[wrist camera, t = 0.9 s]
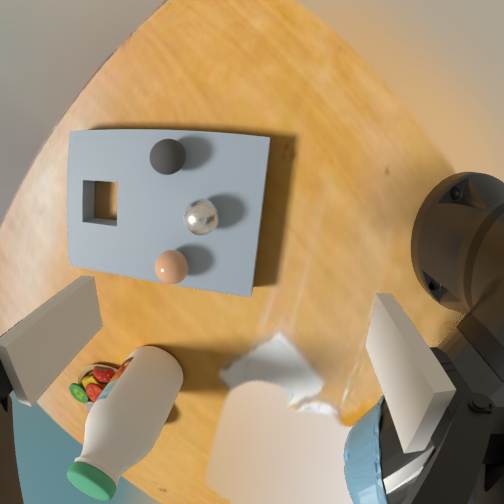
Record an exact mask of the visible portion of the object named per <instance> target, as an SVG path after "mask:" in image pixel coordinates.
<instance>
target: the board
mask: <svg viewBox="0 0 504 504" xmlns="http://www.w3.org/2000/svg"><path fill="white" fill-rule="evenodd" d="M163 139H174V140H176V141H178V142H179V143H181V145H182V146H183V147H184V149H185V152H186V160H185V163H184V165H183V167H182V168H181V169H180V170H179V171H178V172H176V173H174V174H171V175H163V174H160V173H158V172H157V171H155V170H154V169H153V167H152V166H151V163H150V152H151V149H152V147H153V146H154V145H155V144H156V143H157V142H159V141H161V140H163ZM270 146H271V138H270V137H263V136H254V135H243V134H232V133H220V132H205V131H187V130H158V129H109V130H81V131H70V138H69V152H68V171H67V233H68V253H69V265H72V266H76V267H81V268H86V269H91V270H96V271H101V272H106V273H111V274H116V275H122V276H127V277H132V278H137V279H143V280H148V281H154V282H160V283H164V282H162V281H161V280H160V279H159V278H158V277H157V275H156V272H155V262H156V259H157V258H158V256H159V255H160V254H161V253H163V252H164V251H167V250H176V251H179V252H181V253H182V254H183V255H184V256H185V257H186V259H187V261H188V265H189V270H188V274H187V276H186V277H185V279H184V280H183V281H181V282H180V283H177V284H171V285H177V286H183V287H189V288H195V289H201V290H207V291H213V292H220V293H226V294H233V295H239V296H246V297H251V294H252V290H253V286H254V277H255V269H256V261H257V253H258V245H259V237H260V229H261V221H262V212H263V204H264V196H265V188H266V179H267V171H268V162H269V154H270ZM95 181H109V182H118V198H117V220H111V219H102V218H95ZM196 199H207V200H209V201H211V202H212V203H214V204H215V205H216V207H217V209H218V211H219V216H220V217H219V223H218V226H217V227H216V229H215V230H214V231H213V232H211V233H210V234H207V235H203V236H199V235H195V234H192V233H191V232H189V231H188V230H187V228H186V227H185V225H184V223H183V212H184V209H185V208H186V206H187V205H188V204H189V203H190V202H192V201H193V200H196ZM165 284H166V283H165Z"/></svg>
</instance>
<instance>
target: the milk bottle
mask: <svg viewBox="0 0 504 504" xmlns="http://www.w3.org/2000/svg"><path fill="white" fill-rule="evenodd" d="M182 383H183V371H182V368H181V366H180V364H179V363H178V361H177V360H176V359H175V358H174V357H173V356H172V355H171V354H169V353H168V352H166V351H165V350H163V349H160V348H158V347H154V346H142V347H139V348H137V349H135V350H133V351H132V352H131V354H130V355H129V356H128V357H127V359H126V360H125V361H124V363H123V364H122V365H121V367H120V368H119V369H118V371H117V372H116V373H115V375H114V376H113V377H112V379H111V380H110V382H109V383H108V384H107V386H106V387H105V389H104V390H103V391H102V393H101V394H100V396H99V397H98V399H97V400H96V402H95V403H94V405H93V406H92V408H91V410H90V412H89V414H88V417H87V420H86V425H85V439H84V446H83V450H82V453H81V456H80V457H78V458H76V459H75V462H74V463H73V464H72V465H71V466H70V468H69V470H68V472H67V477H68V479H69V480H70V481H71V483H73V485H75V486H76V487H77V488H78V489H80V490H81V491H82V492H84V493H86V494H87V495H89V496H91V497H93V498H96V499H99V500H102V501H109V500H111V499H112V497H113V496H114V494H115V491H116V487H117V486H118V485H119V482H118V479H119V478H120V476H121V475H122V474H123V473H124V472H125V471H126V470H128V469H129V468H130V467H132V466H133V465H135V464H136V463H138V462H139V461H141V460H142V459H143V458H144V457H145V456H146V455H147V454H148V453H149V452H150V451H151V449H152V448H153V446H154V444H155V442H156V440H157V439H158V437H159V435H160V433H161V430H162V428H163V426H164V424H165V422H166V420H167V417H168V415H169V413H170V411H171V409H172V406H173V404H174V402H175V400H176V398H177V395H178V393H179V391H180V389H181V386H182Z"/></svg>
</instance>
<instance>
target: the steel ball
mask: <svg viewBox="0 0 504 504" xmlns="http://www.w3.org/2000/svg"><path fill="white" fill-rule="evenodd" d="M219 217H220V216H219V211H218V209H217V207H216V205H215V204H214V203H212V202H211V201H209V200H207V199H196V200H193V201H192V202H190V203H189V204H188V205H187V206H186V208H185V209H184V212H183V223H184V225H185V227H186V228H187V230H188V231H189V232H191V233H192V234H195V235H199V236H203V235H207V234H210V233H211V232H213V231H214V230H215V229H216V227H217V226H218V223H219Z"/></svg>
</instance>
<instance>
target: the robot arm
mask: <svg viewBox="0 0 504 504" xmlns="http://www.w3.org/2000/svg"><path fill="white" fill-rule="evenodd" d="M411 257H412V263H413V268H414V271H415V274H416V276H417V279H418V280H419V282H420V284H421V285H422V287H423V288H424V289H425V290H426V292H427V293H428V294H429V295H430V296H431V297H432V298H433V299H434V300H435V301H436V302H438V303H439V304H441V305H442V306H444V307H446V308H448V309H451V310H454V311H458V312H461V313H465V314H467V315H466V316H465V317H464V318H463V320H462V321H461V322H460V323H459V324H458V325H457V326H456V327H455V328H454V329H453V330H452V331H451V332H450V334H449V335H448V336H447V337H446V338H445V339H444V340H443V341H442V342H441V343H440V344H439V345H438V346H437V347H430V348H429V346H428V345H427V343H426V342H425V340H424V339H423V337H422V336H421V334H420V333H419V331H418V330H417V329H416V327H415V326H414V324H413V323H412V321H411V320H410V319H409V317H408V316H407V314H406V313H405V311H404V310H403V309H402V307H401V306H400V304H399V303H398V302H397V300H396V299H395V298H394V296H393V295H392V294H378V293H376V296H375V302H374V307H373V312H372V317H371V322H370V327H369V331H368V336H367V340H366V345H365V346H366V349H367V352H368V354H369V357H370V359H371V362H372V364H373V367H374V370H375V372H376V375H377V378H378V380H379V383H380V386H381V388H382V391H383V394H384V395H383V396H381V398H380V400H379V402H378V403H377V404H376V405H375V406H374V407H373V408H372V409H370V410H369V411H368V412H367V413H366V414H365V415H364V416H362V417H361V418H360V419H359V420H358V421H357V422H356V423H355V424H354V426H353V427H352V429H351V430H350V432H349V434H348V437H347V440H346V443H345V448H344V461H345V466H344V473H345V479H346V483H347V487H348V490H349V494H350V496H351V499H352V501H353V503H354V504H504V183H503V182H502V181H500V180H499V179H497V178H495V177H493V176H490V175H487V174H482V173H475V172H463V173H458V174H455V175H452V176H450V177H448V178H446V179H445V180H443V181H442V182H440V183H439V184H438V185H437V186H436V187H435V188H434V189H433V190H432V191H431V192H430V193H429V195H428V196H427V198H426V199H425V201H424V202H423V204H422V206H421V208H420V210H419V212H418V214H417V217H416V220H415V223H414V227H413V232H412V238H411ZM102 327H103V323H102V319H101V313H100V308H99V303H98V297H97V291H96V285H95V279H94V277H91V276H81V277H79V278H78V279H76V280H75V281H74V282H72V283H71V284H69V285H68V286H67V287H65V288H64V289H63V290H61V291H60V292H58V293H57V294H56V295H54V296H53V297H52V298H50V299H49V300H48V301H46V302H45V303H44V304H42V305H41V306H40V307H38V308H37V309H36V310H34V311H33V312H32V313H30V314H29V315H28V316H26V317H25V318H24V319H23V320H21V321H19V322H18V323H17V324H15V325H14V326H13V327H12V328H10V329H9V330H8V331H7V332H5V333H4V334H3V335H2V336H0V504H23V498H22V493H21V488H20V482H19V476H18V469H17V462H16V455H15V444H14V432H13V416H12V400H11V397H10V395H9V394H10V393H11V392H12V390H14V392H15V394H16V396H17V398H18V400H19V401H20V402H22V403H24V404H26V405H29V406H31V407H32V406H33V405H34V404H35V403H36V401H37V400H38V399H39V398H40V397H41V395H42V394H43V393H44V392H45V391H46V390H47V388H48V387H49V386H50V385H51V384H52V383H53V381H54V380H55V379H56V378H57V377H58V376H59V374H60V373H61V372H62V371H63V370H64V369H65V368H66V366H67V365H68V364H69V363H70V362H71V361H72V360H73V359H74V357H75V356H76V355H77V354H78V353H79V352H80V351H81V350H82V348H83V347H84V346H85V345H86V344H87V343H88V342H89V341H90V340H91V339H92V337H93V336H94V335H95V334H96V333H97V332H98V331H99V330H100V329H101V328H102Z"/></svg>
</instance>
